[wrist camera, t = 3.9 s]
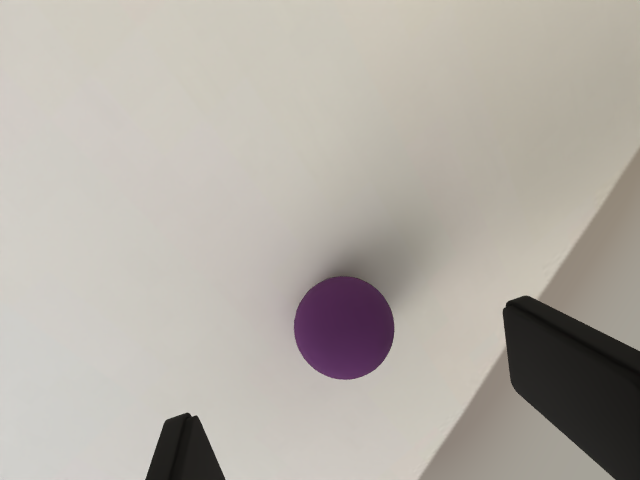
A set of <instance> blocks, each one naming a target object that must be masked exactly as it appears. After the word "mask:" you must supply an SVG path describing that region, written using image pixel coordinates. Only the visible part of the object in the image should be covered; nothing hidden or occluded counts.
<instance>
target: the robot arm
mask: <svg viewBox="0 0 640 480" xmlns="http://www.w3.org/2000/svg"><path fill="white" fill-rule="evenodd" d="M503 319H504V328H505V336H506V345H507V354H508V362H509V371H510V378H511V383H512V385H513V387H514V389H515V390H516V392H517V393H518V394H519V395H521V396H522V397H523V398H524V399H525V400H526V401H527V402H528V403H530V404H531V405H532V406H533V407H534V408H535V409H536V410H538V411H539V412H540V413H541V414H542V415H543V416H544V417H545V418H547V419H548V420H549V421H550V422H551V423H552V424H553V425H554V426H556V427H557V428H558V429H559V430H560V431H561V432H562V433H564V434H565V435H566V436H567V437H568V438H569V439H570V440H572V441H573V442H574V443H575V444H576V445H577V446H578V447H579V448H580V449H582V450H583V451H584V452H585V453H586V454H588V456H590V457H591V458H592V459H593V460H594V461H595V462H596V463H597V464H599V465H600V466H601V467H602V468H603V469H604V470H606V472H608V473H609V474H610V475H611V476H612V477H613V478H614V479H616V480H640V351H638V350H636V349H634V348H632V347H630V346H628V345H626V344H624V343H622V342H620V341H618V340H616V339H614V338H612V337H610V336H608V335H606V334H604V333H602V332H600V331H598V330H596V329H594V328H592V327H590V326H588V325H585V324H584V323H582V322H580V321H578V320H576V319H574V318H572V317H570V316H568V315H566V314H564V313H562V312H560V311H558V310H556V309H554V308H552V307H550V306H548V305H546V304H544V303H542V302H540V301H538V300H536V299H534V298H532V297H530V296H522V297H519V298H516V299H513V300H511V301H508V302H507V303H506V308H504V309H503ZM145 480H225V477H224V475H223V473H222V470H221V468H220V466H219V463H218V461H217V459H216V457H215V454H214V452H213V450H212V447H211V445H210V443H209V440H208V438H207V436H206V433H205V431H204V429H203V426H202V424H201V422H200V419H199V418H198V416H193V417H192V416H191V415H190V414H189V413H185V414H182V415H179V416H176V417H173V418H170V419H167V420H166V421H165V423H164V425H163V428H162V431H161V434H160V437H159V440H158V443H157V446H156V449H155V452H154V455H153V458H152V461H151V464H150V467H149V470H148V473H147V476H146V479H145Z"/></svg>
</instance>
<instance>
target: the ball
mask: <svg viewBox="0 0 640 480" xmlns="http://www.w3.org/2000/svg"><path fill="white" fill-rule="evenodd" d="M294 332H295V339H296V343H297V346H298V348H299V351H300V352H301V354H302V356H303V357H304V359H305V360H306V361H307V362H308V364H310V365H311V366H312V367H313V368H314V369H315V370H317V371H318V372H320V373H322V374H324V375H326V376H328V377H331V378H335V379H344V380H347V379H355V378H359V377H362V376H364V375H367V374H368V373H370V372H372V371H373V370H375V369H376V368H377V367H378V366H379V365H380V364H381V363H382V362H383V361H384V359H385V358H386V356H387V354H388V353H389V351H390V348H391V346H392V343H393V338H394V320H393V315H392V312H391V309H390V307H389V305H388V303H387V301H386V300H385V298H384V297H383V295H382V294H381V293H380V292H379V291H378V290H377V289H376V288H374V287H373V286H372V285H370V284H369V283H367V282H365V281H363V280H360V279H357V278H354V277H343V276H340V277H333V278H329V279H326V280H324V281H322V282H320V283H318V284H317V285H315V286H314V287H312V288H311V289H310V290H309V291H308V292H307V293H306V295H305V296H304V297H303V299H302V300H301V302H300V304H299V306H298V309H297V311H296V316H295V320H294Z"/></svg>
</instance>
